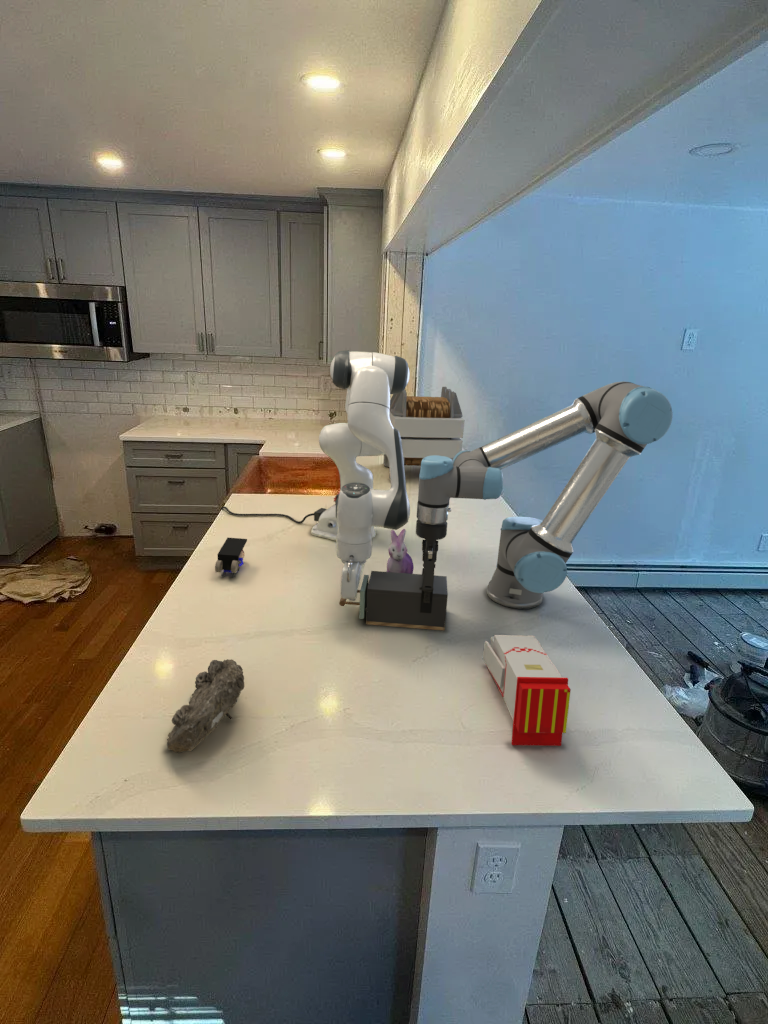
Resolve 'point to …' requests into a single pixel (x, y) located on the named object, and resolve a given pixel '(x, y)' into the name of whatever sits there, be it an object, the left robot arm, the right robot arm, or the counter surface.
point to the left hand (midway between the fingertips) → (352, 598)
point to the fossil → (206, 705)
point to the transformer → (427, 426)
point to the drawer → (362, 598)
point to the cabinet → (404, 601)
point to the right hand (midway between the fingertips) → (425, 601)
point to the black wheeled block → (230, 556)
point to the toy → (529, 689)
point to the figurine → (399, 555)
